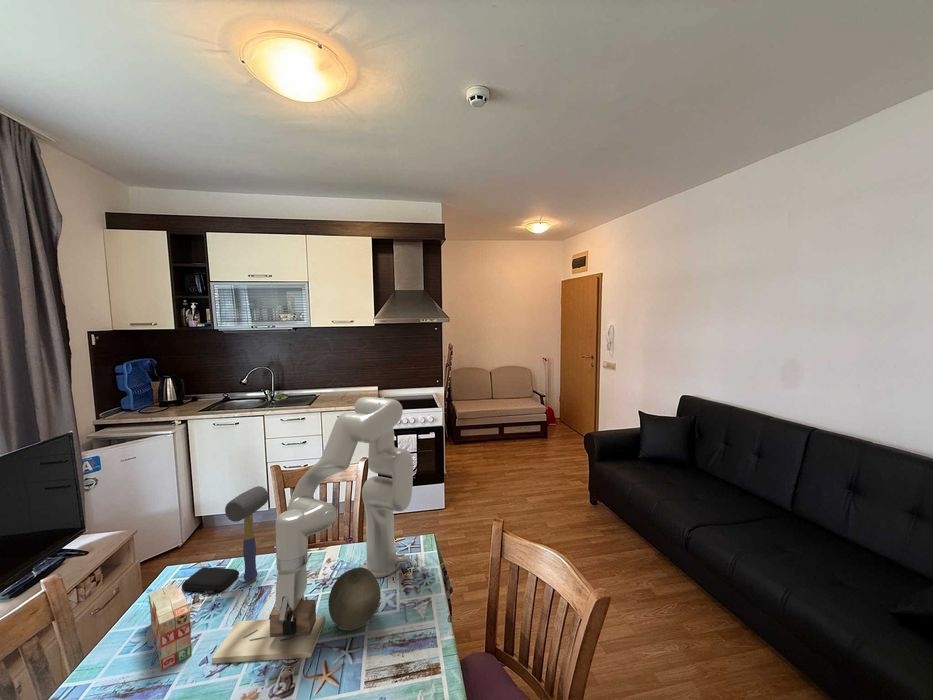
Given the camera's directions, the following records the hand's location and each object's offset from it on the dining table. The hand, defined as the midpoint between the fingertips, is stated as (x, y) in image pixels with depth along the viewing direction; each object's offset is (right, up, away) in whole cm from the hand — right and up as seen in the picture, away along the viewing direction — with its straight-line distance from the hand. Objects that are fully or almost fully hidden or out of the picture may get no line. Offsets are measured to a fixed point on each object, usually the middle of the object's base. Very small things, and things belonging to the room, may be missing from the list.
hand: (293, 625), depth 102 cm
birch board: (-6, -4, 0) cm, 7 cm away
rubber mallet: (-26, -3, +25) cm, 36 cm away
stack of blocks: (-34, -5, +1) cm, 34 cm away
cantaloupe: (+15, -4, +5) cm, 16 cm away
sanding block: (0, -1, 0) cm, 1 cm away
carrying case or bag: (-38, -4, +23) cm, 45 cm away
